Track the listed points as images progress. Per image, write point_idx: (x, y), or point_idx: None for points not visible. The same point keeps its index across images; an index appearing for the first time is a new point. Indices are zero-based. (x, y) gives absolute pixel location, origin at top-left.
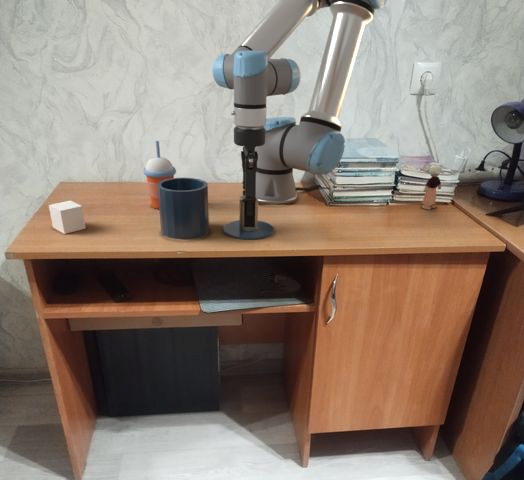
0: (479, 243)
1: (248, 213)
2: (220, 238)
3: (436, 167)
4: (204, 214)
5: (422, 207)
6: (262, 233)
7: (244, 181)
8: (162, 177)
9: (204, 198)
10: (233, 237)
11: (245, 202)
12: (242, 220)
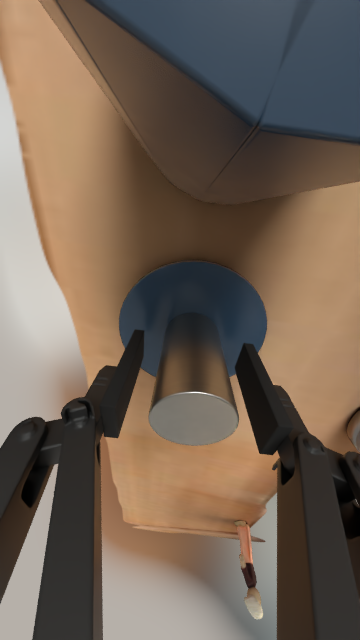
0: (127, 516)
1: (100, 375)
2: (154, 241)
3: (251, 613)
4: (151, 155)
5: (242, 521)
6: (148, 358)
7: (300, 499)
8: None
9: (124, 109)
10: (135, 284)
11: (101, 404)
12: (171, 336)
